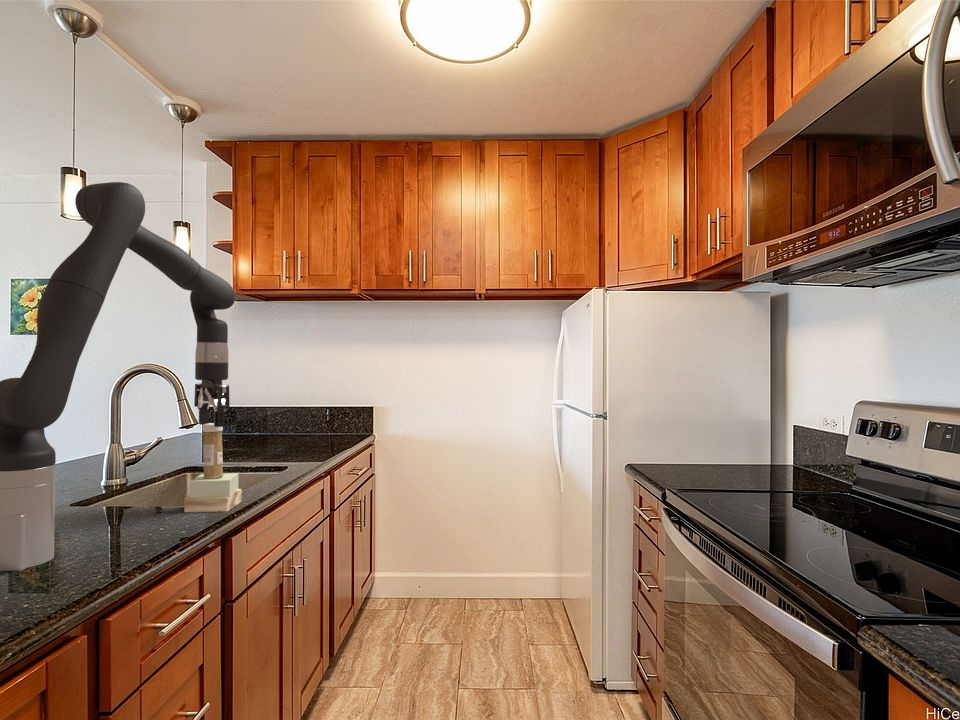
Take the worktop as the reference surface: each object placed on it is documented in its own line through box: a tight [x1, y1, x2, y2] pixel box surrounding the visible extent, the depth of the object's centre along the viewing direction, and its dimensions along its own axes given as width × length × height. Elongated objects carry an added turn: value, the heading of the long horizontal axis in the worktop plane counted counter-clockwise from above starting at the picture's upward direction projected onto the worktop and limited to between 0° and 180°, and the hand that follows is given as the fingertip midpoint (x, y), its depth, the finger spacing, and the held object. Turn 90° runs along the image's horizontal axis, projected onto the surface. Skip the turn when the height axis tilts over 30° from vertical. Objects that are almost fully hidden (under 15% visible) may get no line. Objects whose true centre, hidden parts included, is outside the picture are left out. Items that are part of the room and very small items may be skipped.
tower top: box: [189, 472, 239, 498], centre depth 139 cm, size 9×9×4 cm
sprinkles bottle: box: [202, 422, 224, 479], centre depth 139 cm, size 5×5×14 cm
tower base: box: [183, 488, 243, 513], centre depth 139 cm, size 10×10×4 cm
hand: (211, 425), depth 140 cm, fingers open, 8 cm apart
